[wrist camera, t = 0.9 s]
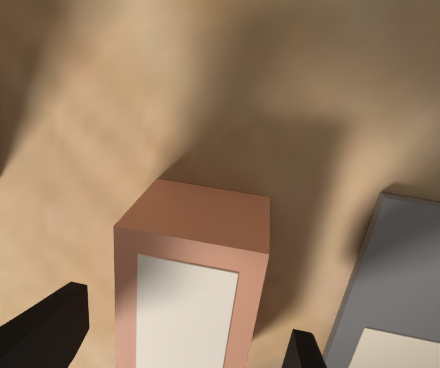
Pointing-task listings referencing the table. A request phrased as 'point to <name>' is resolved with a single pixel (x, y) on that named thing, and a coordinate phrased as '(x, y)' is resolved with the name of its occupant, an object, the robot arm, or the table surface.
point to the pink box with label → (189, 276)
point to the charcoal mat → (392, 291)
